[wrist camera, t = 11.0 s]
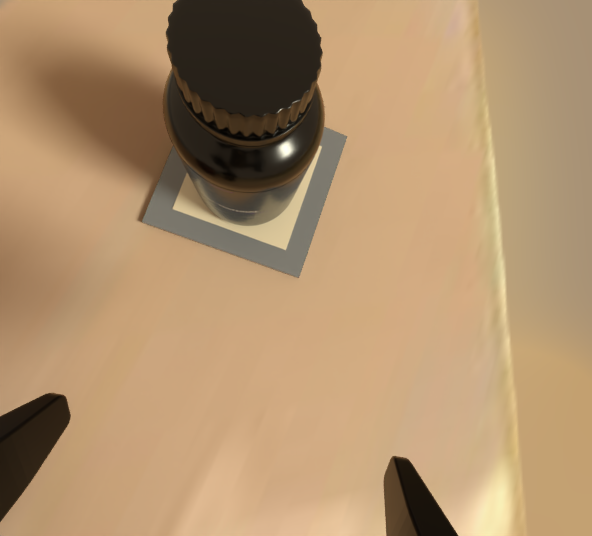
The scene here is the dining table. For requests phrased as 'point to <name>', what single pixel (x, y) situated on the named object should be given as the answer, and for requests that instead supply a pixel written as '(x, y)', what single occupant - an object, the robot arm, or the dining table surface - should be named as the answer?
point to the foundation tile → (248, 239)
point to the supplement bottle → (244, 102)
